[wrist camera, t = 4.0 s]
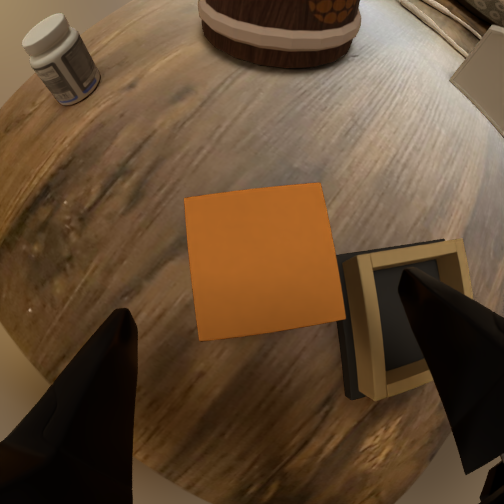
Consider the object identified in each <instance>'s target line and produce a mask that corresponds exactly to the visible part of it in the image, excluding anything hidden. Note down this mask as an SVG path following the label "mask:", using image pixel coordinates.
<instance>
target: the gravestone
mask: <svg viewBox="0 0 504 504" xmlns="http://www.w3.org/2000/svg"><path fill="white" fill-rule="evenodd" d="M449 81H450V82H451V83H453V84H454V85H455V86H456V87H457V88H458V89H459V90H460V91H461V92H462V93H463V94H464V95H465V96H466V97H467V98H468V99H469V100H470V101H471V102H472V103H473V104H474V105H475V106H476V107H477V108H478V109H479V110H480V111H481V112H482V113H483V114H484V115H485V116H486V117H487V119H488V120H489V121H490V122H491V123H492V124H493V125H494V126H495V128H496V129H497V130H498V131H499V132H500V133H501V135H502V136H503V137H504V28H503V27H499V26H496V25H491V26H490V28H489V29H488V30H487V32H486V33H485V34H484V36H483V37H482V38H481V40H480V41H479V42H478V44H477V45H476V46H475V48H474V49H473V50H472V51H471V53H470V54H469V55H468V56H467V58H466V59H465V60H464V62H463V63H462V64H461V65H460V67H459V68H458V69H457V70H456V72H455V73H454V74H453V76H452V77H451V79H450V80H449Z"/></svg>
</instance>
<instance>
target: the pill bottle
mask: <svg viewBox="0 0 504 504" xmlns="http://www.w3.org/2000/svg"><path fill="white" fill-rule="evenodd" d="M22 46H23V47H24V49H25V50H26V52H27V53H28V54H29V56H30V65H31V67H32V68H33V69H34V71H35V72H36V73H37V75H38V76H39V77H40V79H41V80H42V81H43V83H44V84H45V85H46V87H47V88H48V89H49V91H50V92H51V93H52V94H53V95H54V97H55V98H56V99H57V101H58V102H59V103H61V104H62V105H72V104H75V103H77V102H79V101H81V100H82V99H84V98H85V97H87V96H88V95H89V94H90V93H91V92H92V91H93V90H94V89H95V87H96V86H97V84H98V82H99V79H100V74H99V71H98V69H97V67H96V65H95V64H94V62H93V60H92V58H91V56H90V54H89V52H88V50H87V48H86V46H85V44H84V43H83V41H82V39H81V37H80V35H79V33H78V31H77V30H76V29H75V28H73V27H69V23H68V21H67V19H66V18H65V16H64V15H63V14H62V13H57V14H54V15H51V16H49V17H47V18H46V19H44V20H42V21H41V22H39V23H38V24H37V25H36V26H34V27H33V28H32V29H31V30H30V31H29V32H28V33H27V35H26V36H25V37H24V39H23V42H22Z"/></svg>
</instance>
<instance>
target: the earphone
mask: <svg viewBox="0 0 504 504" xmlns="http://www.w3.org/2000/svg"><path fill="white" fill-rule="evenodd" d="M422 1H424V2H425V3H427V4H429V5H431V6H432V7H434V8H436V9H437V10H439V11H440V12H442V13H444V14H446V15H448V16H451V17H452V18H454V19H455V20H456V21H458V22H459V23H461V24H462V25H463V26H465V27H466V28H467V29H468V30H470V31H471V32H472V33H473V34H474V35H476V36H477V37H478V38H479V39H480V40H481V38H482V37H481V36H480V35H479V34H478V33H477V32H476V31H475V30H474V29H472V28H471V27H470V26H469V25H467V24H466V23H465V22H463V21H462V20H461V19H459V18H458V17H456V16H455V15H453V14H452V13H451V12H450V11H449V10H448V9H447V8H445V7H444V6H442V5H441V4H439V3H438V2H436V1H434V0H422ZM499 1H500V2H501V3H502V4H504V0H499ZM400 3H401V4H402V5H403V6H404V7H406V8H407V9H408V10H410V11H411V12H412V13H413V14H415V15H416V16H417V17H418V18H420V19H421V20H422V21H423V22H424V23H426V24H427V25H428V26H429V27H431V28H433V29H434V30H436V31H437V32H438V33H440V34H441V35H442V36H443V37H444V38H445V39H446V40H447V41H448V42H449V43H450V44H452V45H453V46H454V47H455V48H456V49H457V50H458V51H459V52H460V53H461V54H463V55H464V56H465V57H466V58H467V56H468V55H469V54H468V53H467V52H465V51H464V50H463V49H462V48H461V47H460V46H459V45H458V44H456V43H455V42H454V41H453V40H452V39H451V38H450V37H449V36H448V35H447V34H446V33H445V32H443V31H442V30H441V29H440V28H439V27H438V26H437V24H436V23H435V22H434V21H433V20H432V19H431V18H430V17H428V16H427V15H426V14H425V13H424V12H422V11H421V10H420V9H419V8H417V7H416V6H415V5H413V4H412V3H411V2H409V1H408V0H401V2H400Z"/></svg>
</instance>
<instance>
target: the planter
mask: <svg viewBox="0 0 504 504" xmlns="http://www.w3.org/2000/svg"><path fill="white" fill-rule="evenodd" d="M457 1H458V2H459V3H460V4H461V5H463V6H464V7H465V8H466V9H467V10H469V11H470V12H471V13H473V14H474V15H476V16H477V17H479V18H480V19H482V20H484V21H486V22H489V23H491V24H494V25H499V26H501V27H503V28H504V4H502V3H501V2H500V1H499V0H457Z"/></svg>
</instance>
